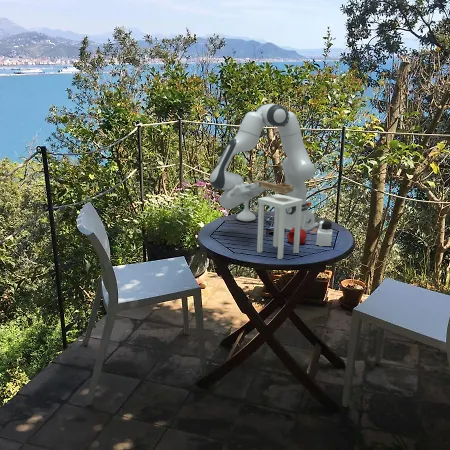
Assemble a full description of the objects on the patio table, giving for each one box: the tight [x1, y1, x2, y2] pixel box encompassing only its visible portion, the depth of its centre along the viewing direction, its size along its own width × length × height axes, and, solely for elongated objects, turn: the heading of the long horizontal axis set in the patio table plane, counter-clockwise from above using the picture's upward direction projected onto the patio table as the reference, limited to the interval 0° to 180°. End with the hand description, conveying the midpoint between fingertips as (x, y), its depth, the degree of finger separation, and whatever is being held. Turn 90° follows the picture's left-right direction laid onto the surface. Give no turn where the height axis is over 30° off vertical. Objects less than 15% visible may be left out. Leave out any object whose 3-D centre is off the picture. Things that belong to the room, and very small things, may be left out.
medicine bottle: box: [315, 220, 333, 247], centre depth 225 cm, size 7×7×12 cm
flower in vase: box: [236, 177, 257, 222], centre depth 263 cm, size 13×11×25 cm
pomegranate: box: [286, 227, 308, 245], centre depth 228 cm, size 10×10×9 cm
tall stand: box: [256, 193, 303, 260], centre depth 211 cm, size 14×15×26 cm
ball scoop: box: [253, 179, 293, 195], centre depth 210 cm, size 6×20×3 cm, turn 43°
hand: (261, 183), depth 214 cm, fingers closed on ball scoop, 2 cm apart
